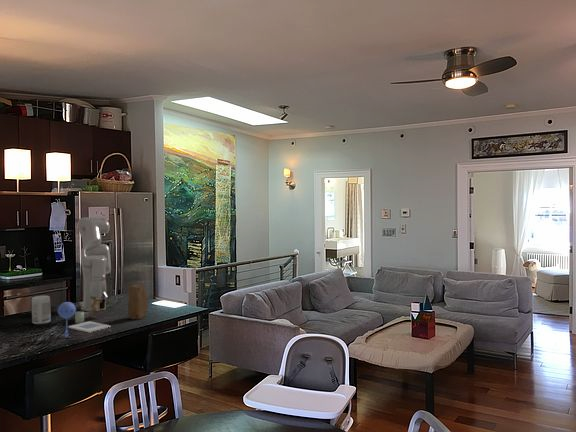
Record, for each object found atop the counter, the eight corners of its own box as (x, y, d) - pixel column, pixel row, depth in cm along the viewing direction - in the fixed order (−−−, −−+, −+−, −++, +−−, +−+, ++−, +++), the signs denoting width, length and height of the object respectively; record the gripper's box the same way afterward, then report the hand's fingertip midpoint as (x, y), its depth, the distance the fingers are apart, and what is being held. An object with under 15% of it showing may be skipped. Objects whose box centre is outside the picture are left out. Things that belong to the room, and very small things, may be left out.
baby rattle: (61, 334, 255) (61, 300, 254) (78, 334, 256) (78, 300, 255) (54, 339, 246) (54, 303, 246) (72, 338, 247) (72, 303, 246)
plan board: (67, 327, 268) (67, 326, 268) (89, 322, 280) (89, 321, 280) (89, 332, 259) (89, 331, 259) (110, 327, 271) (110, 325, 271)
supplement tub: (50, 319, 285) (50, 294, 285) (50, 323, 277) (50, 297, 276) (32, 321, 281) (32, 296, 281) (31, 325, 273) (31, 299, 272)
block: (137, 320, 286) (137, 286, 286) (126, 319, 289) (126, 285, 288) (148, 316, 296) (148, 283, 296) (138, 315, 299) (138, 283, 298)
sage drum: (73, 322, 279) (73, 312, 279) (80, 321, 283) (80, 310, 283) (78, 323, 277) (78, 313, 277) (86, 322, 281) (86, 311, 281)
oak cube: (90, 309, 291) (90, 299, 291) (99, 307, 296) (99, 297, 296) (97, 311, 288) (97, 301, 288) (105, 309, 293) (106, 299, 293)
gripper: (84, 277, 292) (83, 306, 293) (103, 281, 283) (102, 311, 285) (94, 275, 298) (94, 304, 300) (113, 279, 290) (113, 309, 291)
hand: (98, 307), depth 292 cm, fingers closed on oak cube, 6 cm apart
